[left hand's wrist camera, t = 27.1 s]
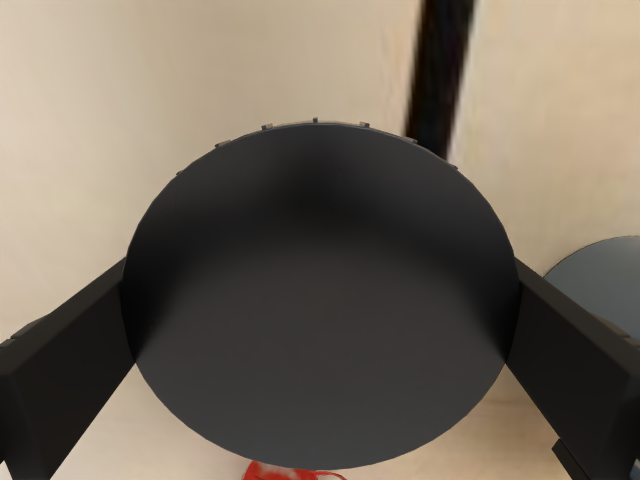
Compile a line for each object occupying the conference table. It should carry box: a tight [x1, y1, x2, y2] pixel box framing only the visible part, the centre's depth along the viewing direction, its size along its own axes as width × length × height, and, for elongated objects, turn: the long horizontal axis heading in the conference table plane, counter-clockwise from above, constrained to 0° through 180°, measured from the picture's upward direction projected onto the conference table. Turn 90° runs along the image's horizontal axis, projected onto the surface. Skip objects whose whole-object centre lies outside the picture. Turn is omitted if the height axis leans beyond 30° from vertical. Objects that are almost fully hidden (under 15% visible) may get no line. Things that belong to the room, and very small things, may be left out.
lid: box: [120, 117, 520, 470], centre depth 11 cm, size 11×11×2 cm
